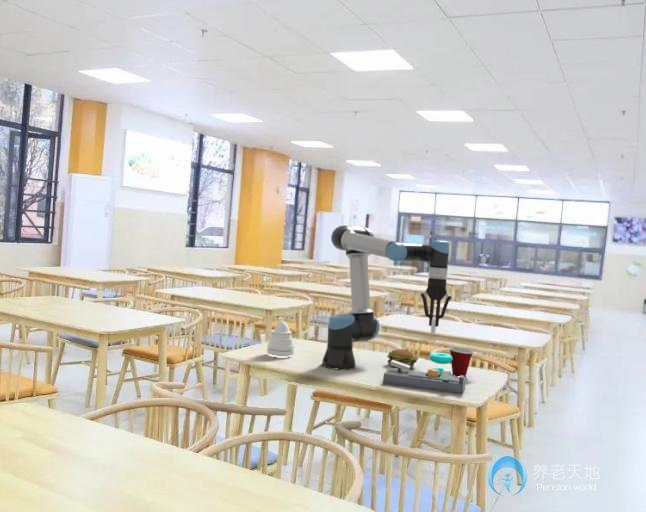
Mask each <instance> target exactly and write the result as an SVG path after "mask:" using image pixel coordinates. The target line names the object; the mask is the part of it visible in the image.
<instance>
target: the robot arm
mask: <svg viewBox="0 0 646 512" xmlns="http://www.w3.org/2000/svg"><path fill="white" fill-rule="evenodd" d="M330 239H331V243H332V245H333V246H334V247H335V249H338V250H341V251H345V256H346V257H347V258H348V259H349V275H350V293H351V294H350V298H351V310H350V311H349V313H336V314H333V315H331V316H330V317H329V319H328V324H327V327H328V328H327V343H326V345H327V346H326V350H325V353H324V355H323V358H322V361H321V365H322V364H323V365H324V366H326V367H325V368H327V367H330V368H329V369H331V368H338V369H337V370H341V369H346V370H351V369H350V368H353V369H355V368H356V358H355V354H354V349H353V347H354V343H357V342H369V341H371V340H374V339H375V338H376V337H377V336H378V335H379V332H380V321H379V319H378V318H377V317H376V316H375V312H374V310H373V309H371V298H370V297H371V295H370V280H369V262H368V260H369V259H368V258H369V256H371V255H373V256H377V257H383V258H387V259H389V261H393V262H419V263H420V262H421V263H429V267H428V276H429V277H428V279H427V288H426V290H425V291H424V292H421V293H420V297H421V299H422V304H423V310H424V311H423V312H424V316H425V317H426V318H429V320H428V326H429V327H430V335H433V336H434V335H436V329H437V327H439V326H440V325H439V322H440V319H444V317H445V313H446V311H447V308H448V304H449V302H450V300H451V299H452V297H453V296H452V295H450V294H449V293H448V291H447V278H448V265H449V256H450V255H449V254H450V243H449V242H448V241H445V240H432V241H431V243H430V244H425V243H418V242H417V243H415V242H414V243H411V242H410V243H409V242H408V243H407V242H400V241H394V240H390V239H384V238H381V237H380V238H379V237H375V235H374V232H373V231H372V230H371V229H369V228H368V227H364V226H359V225H358V226H355V225H340V226H337V227H336V228H334V230H333V231H332V233H331V237H330ZM427 296H428V298H429V299H430V306H429V307H428V300H427ZM444 297H445V301H444V304H443V307H442V309H441V301H442V300H443V299H444ZM435 301H436V308H435ZM434 308H435V309H436V310H435V317H434ZM323 365H322V366H323ZM324 366H323V367H324ZM354 367H355V368H354Z"/></svg>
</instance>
